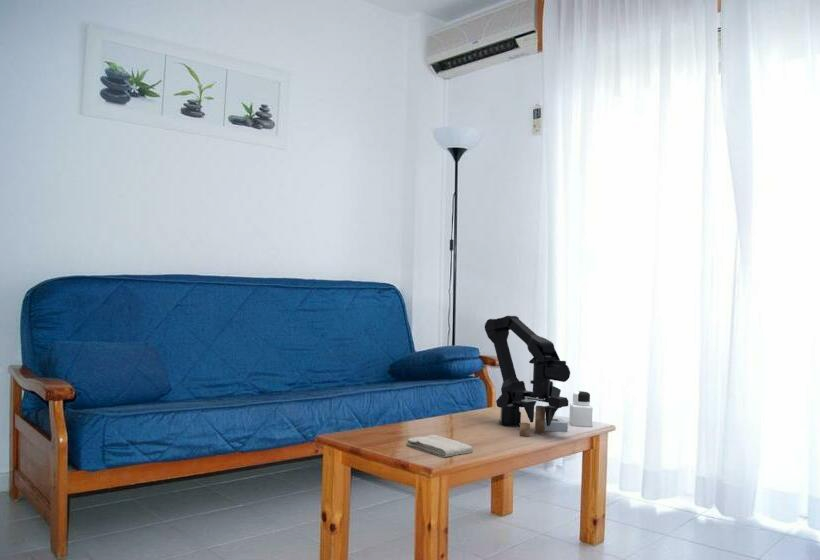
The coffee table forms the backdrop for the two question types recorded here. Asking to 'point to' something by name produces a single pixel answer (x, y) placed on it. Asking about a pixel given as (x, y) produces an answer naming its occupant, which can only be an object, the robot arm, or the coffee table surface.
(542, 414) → the long dowel
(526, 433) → the short stub
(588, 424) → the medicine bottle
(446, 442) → the washcloth
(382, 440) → the coffee table surface
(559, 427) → the collar block
